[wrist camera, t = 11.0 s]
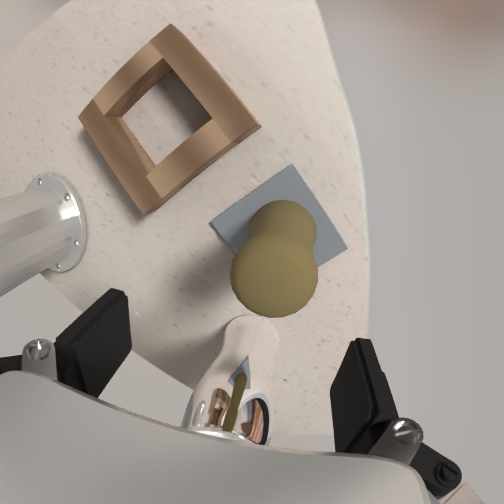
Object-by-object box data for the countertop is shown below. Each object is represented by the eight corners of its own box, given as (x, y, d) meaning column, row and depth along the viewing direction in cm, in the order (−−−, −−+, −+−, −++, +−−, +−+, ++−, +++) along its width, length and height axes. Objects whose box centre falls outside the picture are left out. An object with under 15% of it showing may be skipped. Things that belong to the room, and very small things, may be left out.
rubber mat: (267, 294, 29) (267, 296, 28) (211, 220, 27) (210, 221, 27) (347, 247, 26) (347, 248, 25) (292, 164, 24) (292, 164, 24)
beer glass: (213, 314, 31) (157, 422, 17) (277, 306, 29) (256, 428, 15) (230, 363, 33) (193, 470, 19) (289, 358, 31) (276, 475, 17)
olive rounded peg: (313, 267, 27) (319, 338, 16) (248, 262, 27) (217, 327, 17) (319, 202, 25) (334, 238, 14) (250, 197, 25) (216, 229, 15)
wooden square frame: (158, 208, 27) (143, 215, 25) (95, 117, 25) (77, 117, 22) (261, 126, 23) (256, 123, 21) (183, 34, 21) (170, 23, 18)
